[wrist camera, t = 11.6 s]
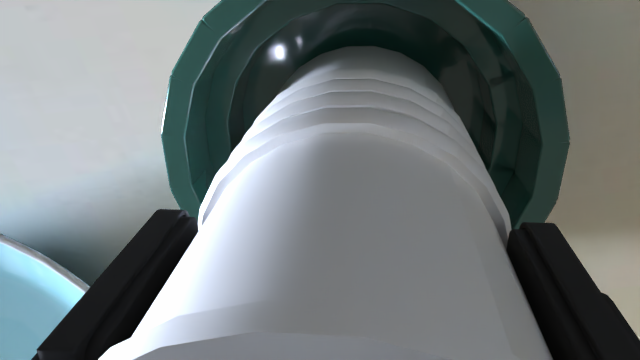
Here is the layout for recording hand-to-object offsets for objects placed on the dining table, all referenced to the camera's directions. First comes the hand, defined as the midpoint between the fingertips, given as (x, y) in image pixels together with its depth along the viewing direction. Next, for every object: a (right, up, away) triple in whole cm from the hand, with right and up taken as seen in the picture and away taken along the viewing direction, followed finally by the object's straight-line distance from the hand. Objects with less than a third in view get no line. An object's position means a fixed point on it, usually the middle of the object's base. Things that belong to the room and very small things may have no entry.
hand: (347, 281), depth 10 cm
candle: (+1, +4, +9) cm, 10 cm away
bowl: (+1, +5, +10) cm, 11 cm away
